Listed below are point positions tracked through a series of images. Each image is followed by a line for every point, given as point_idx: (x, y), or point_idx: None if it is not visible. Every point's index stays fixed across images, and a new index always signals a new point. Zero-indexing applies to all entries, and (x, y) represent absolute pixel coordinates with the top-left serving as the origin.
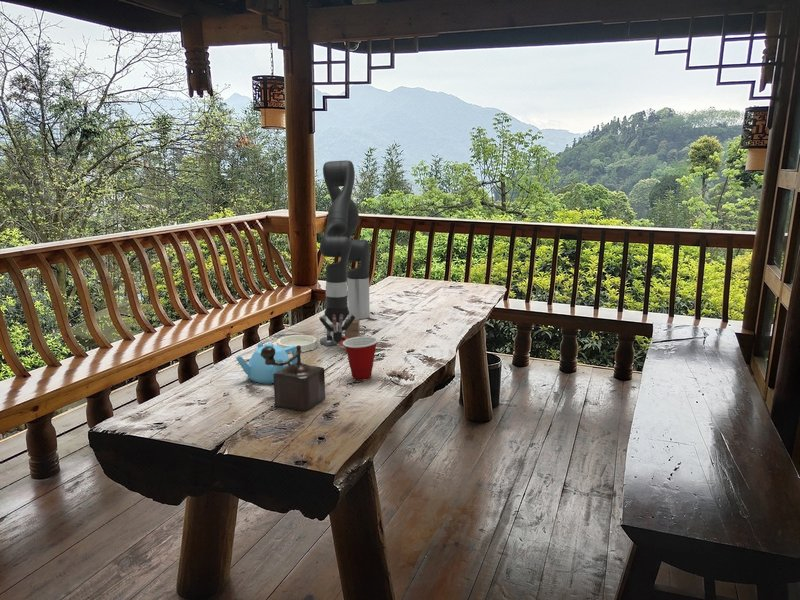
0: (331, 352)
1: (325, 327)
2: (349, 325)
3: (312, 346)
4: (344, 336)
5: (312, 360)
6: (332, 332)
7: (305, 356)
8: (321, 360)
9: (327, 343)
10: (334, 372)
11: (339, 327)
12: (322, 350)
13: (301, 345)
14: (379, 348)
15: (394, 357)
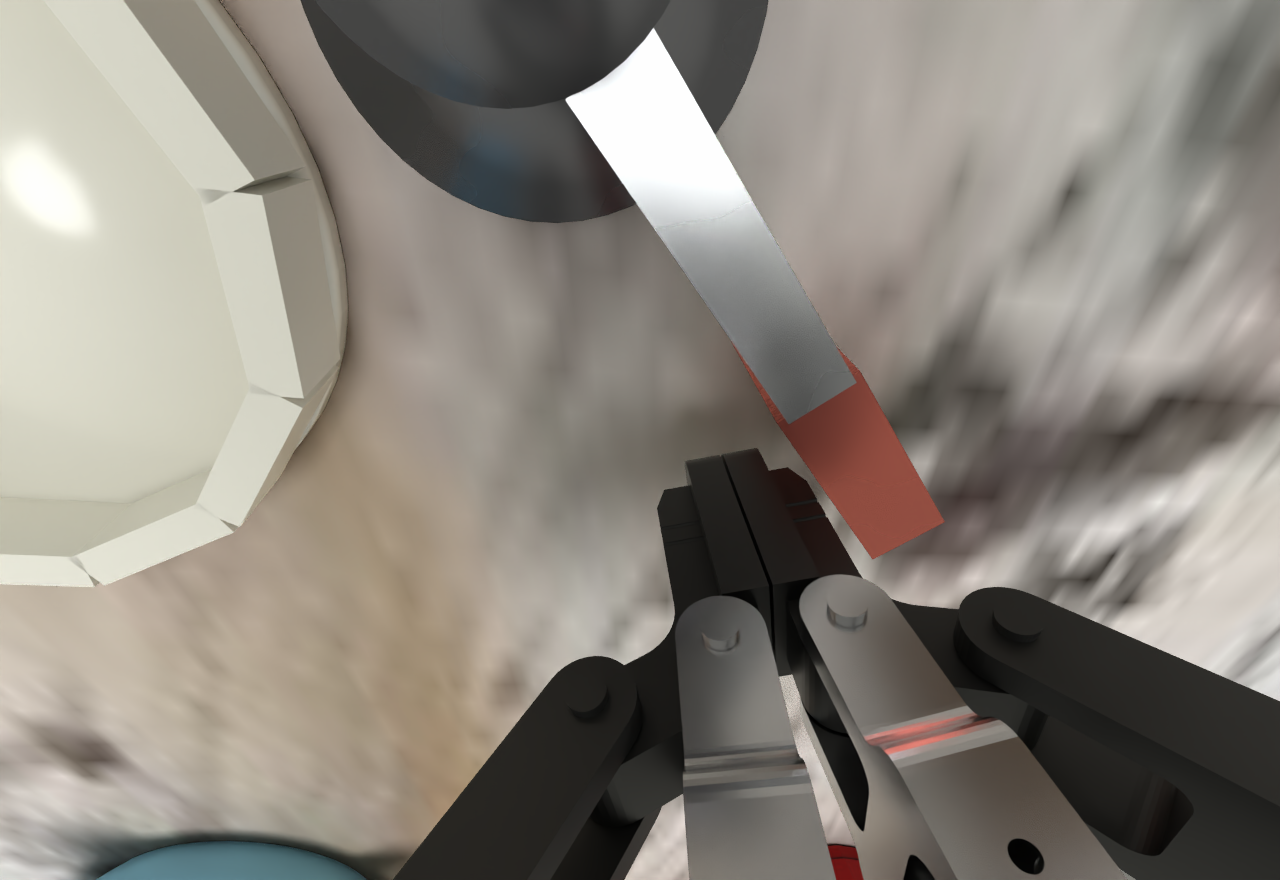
0: (616, 490)
1: (340, 13)
2: (1150, 795)
3: (302, 425)
4: (886, 457)
5: (445, 687)
6: (635, 137)
7: (327, 601)
8: (533, 686)
9: (522, 215)
10: (658, 836)
11: (859, 798)
12: (482, 412)
13: (143, 565)
14: (1252, 367)
15: (1198, 624)
